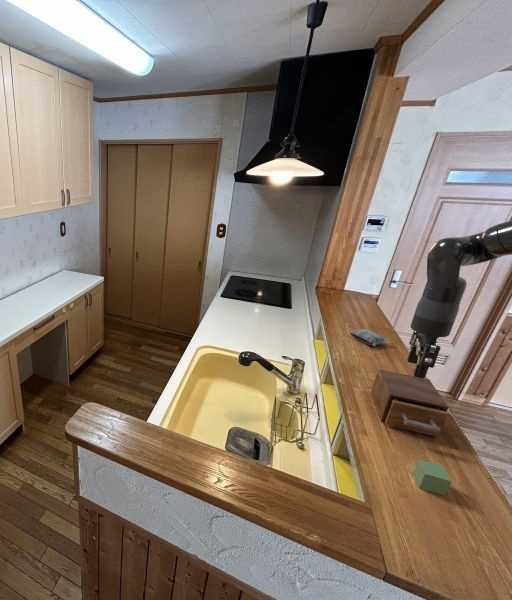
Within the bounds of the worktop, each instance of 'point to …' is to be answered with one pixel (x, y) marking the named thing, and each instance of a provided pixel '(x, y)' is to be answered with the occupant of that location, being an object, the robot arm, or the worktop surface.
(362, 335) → the packaged food
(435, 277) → the robot arm
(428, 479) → the block
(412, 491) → the worktop surface
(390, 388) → the cabinet
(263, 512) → the worktop surface
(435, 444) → the worktop surface
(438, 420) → the drawer
